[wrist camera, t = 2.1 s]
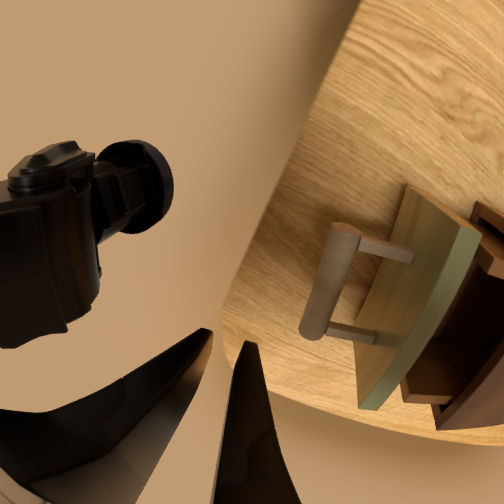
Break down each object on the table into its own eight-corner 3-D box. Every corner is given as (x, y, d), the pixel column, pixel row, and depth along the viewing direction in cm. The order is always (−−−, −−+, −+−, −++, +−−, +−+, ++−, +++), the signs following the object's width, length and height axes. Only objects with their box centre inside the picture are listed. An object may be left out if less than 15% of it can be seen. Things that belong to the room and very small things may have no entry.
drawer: (294, 316, 19) (281, 396, 13) (336, 163, 14) (353, 190, 8) (476, 350, 17) (502, 410, 11) (535, 240, 12) (587, 287, 6)
